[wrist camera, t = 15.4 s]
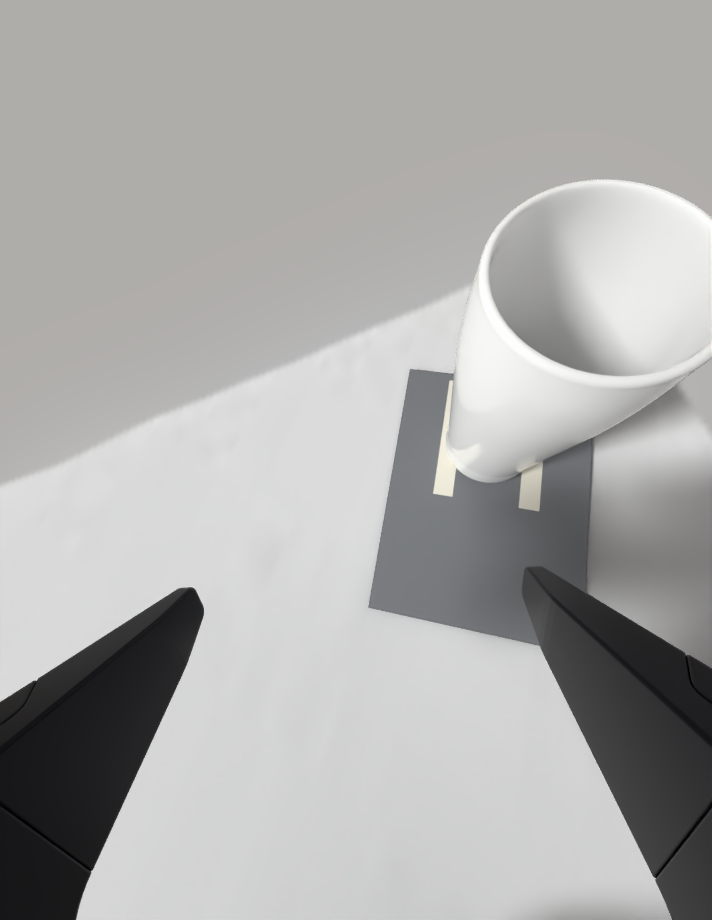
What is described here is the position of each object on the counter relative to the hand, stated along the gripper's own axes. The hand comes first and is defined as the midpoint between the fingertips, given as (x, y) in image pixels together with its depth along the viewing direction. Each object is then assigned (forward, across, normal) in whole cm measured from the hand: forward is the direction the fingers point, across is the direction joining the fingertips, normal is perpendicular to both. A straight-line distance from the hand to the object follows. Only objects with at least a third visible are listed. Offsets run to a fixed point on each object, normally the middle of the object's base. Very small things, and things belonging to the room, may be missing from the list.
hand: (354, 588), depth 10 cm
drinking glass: (+15, +8, -4) cm, 17 cm away
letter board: (+13, +7, -6) cm, 16 cm away
